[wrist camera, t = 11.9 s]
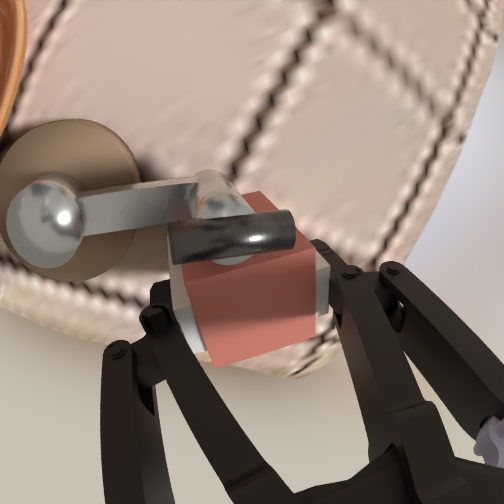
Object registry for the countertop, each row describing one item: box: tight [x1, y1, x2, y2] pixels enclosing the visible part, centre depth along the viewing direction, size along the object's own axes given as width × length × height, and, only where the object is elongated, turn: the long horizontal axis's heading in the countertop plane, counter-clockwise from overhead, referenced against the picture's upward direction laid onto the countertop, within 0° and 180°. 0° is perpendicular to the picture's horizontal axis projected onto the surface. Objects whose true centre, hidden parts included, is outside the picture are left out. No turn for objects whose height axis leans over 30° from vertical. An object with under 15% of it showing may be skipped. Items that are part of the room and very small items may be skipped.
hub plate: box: [0, 119, 142, 282], centre depth 14 cm, size 9×9×3 cm
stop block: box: [181, 191, 316, 368], centre depth 15 cm, size 5×5×7 cm
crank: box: [6, 169, 296, 268], centre depth 11 cm, size 12×4×6 cm, turn 89°
